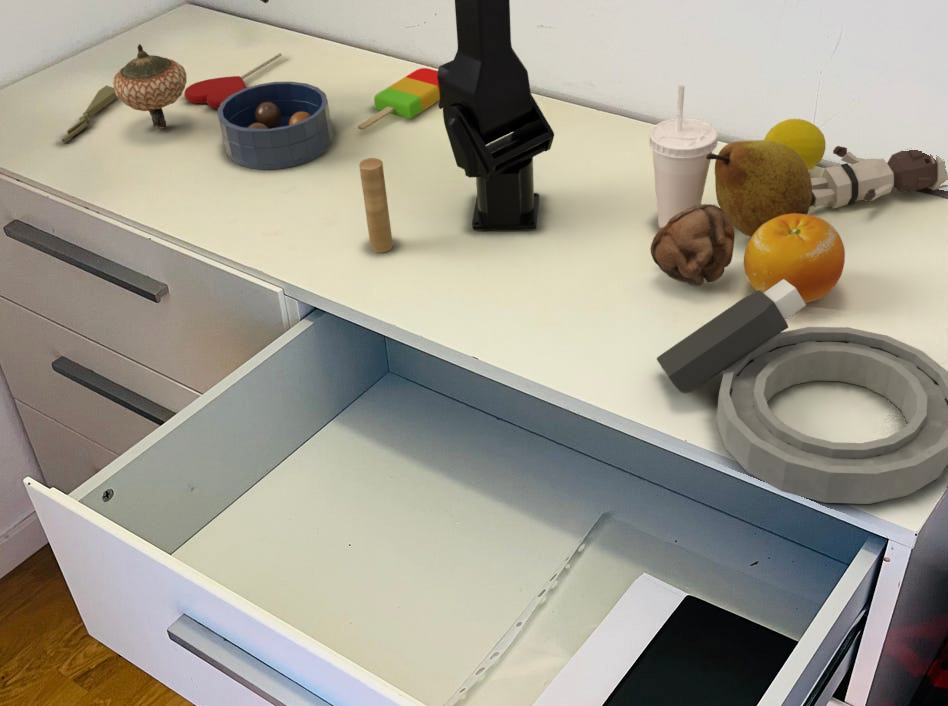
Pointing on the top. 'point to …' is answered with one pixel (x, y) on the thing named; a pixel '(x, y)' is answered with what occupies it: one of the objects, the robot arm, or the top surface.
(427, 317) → the top surface
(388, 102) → the popsicle
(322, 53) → the top surface
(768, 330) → the usb drive
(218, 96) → the lollipop
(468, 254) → the top surface
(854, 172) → the toy
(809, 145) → the fruit
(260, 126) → the bead
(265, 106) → the bead
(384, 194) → the stick
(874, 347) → the mechanical component
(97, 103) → the olive green tapered piece
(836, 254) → the fruit
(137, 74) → the acorn
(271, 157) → the bowl
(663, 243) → the brown walnut half
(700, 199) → the smoothie
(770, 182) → the fruit
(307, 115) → the bead
